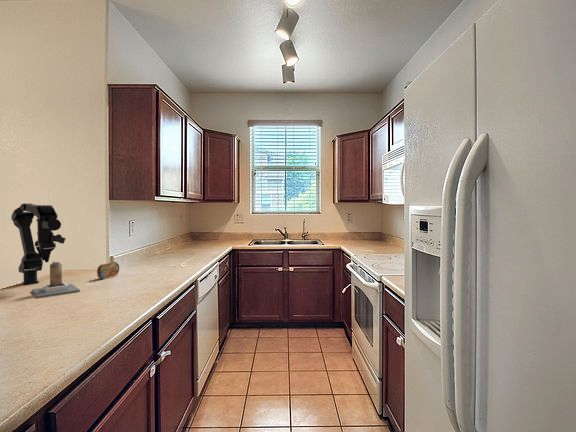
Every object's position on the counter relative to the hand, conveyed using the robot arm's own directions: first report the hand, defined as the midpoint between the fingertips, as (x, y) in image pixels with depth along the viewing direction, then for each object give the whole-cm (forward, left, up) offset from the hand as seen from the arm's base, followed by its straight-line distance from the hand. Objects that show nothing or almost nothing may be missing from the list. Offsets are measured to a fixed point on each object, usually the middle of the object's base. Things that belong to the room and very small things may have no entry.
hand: (45, 261), depth 163 cm
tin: (-4, +30, -13) cm, 33 cm away
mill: (+13, +2, -12) cm, 18 cm away
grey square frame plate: (+13, +2, -13) cm, 19 cm away
